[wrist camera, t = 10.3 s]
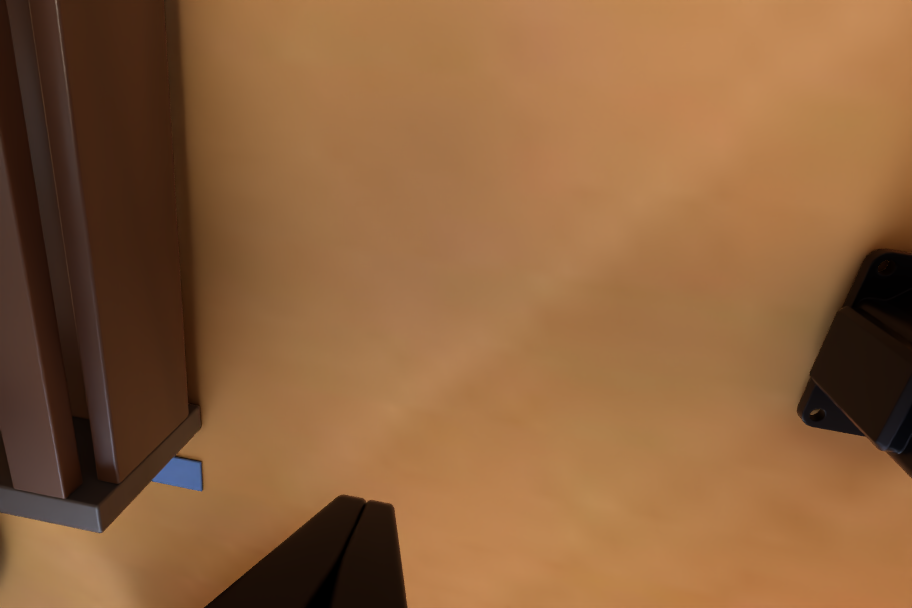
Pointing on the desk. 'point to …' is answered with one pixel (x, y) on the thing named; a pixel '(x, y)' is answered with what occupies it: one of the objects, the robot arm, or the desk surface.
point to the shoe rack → (87, 261)
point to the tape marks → (181, 474)
